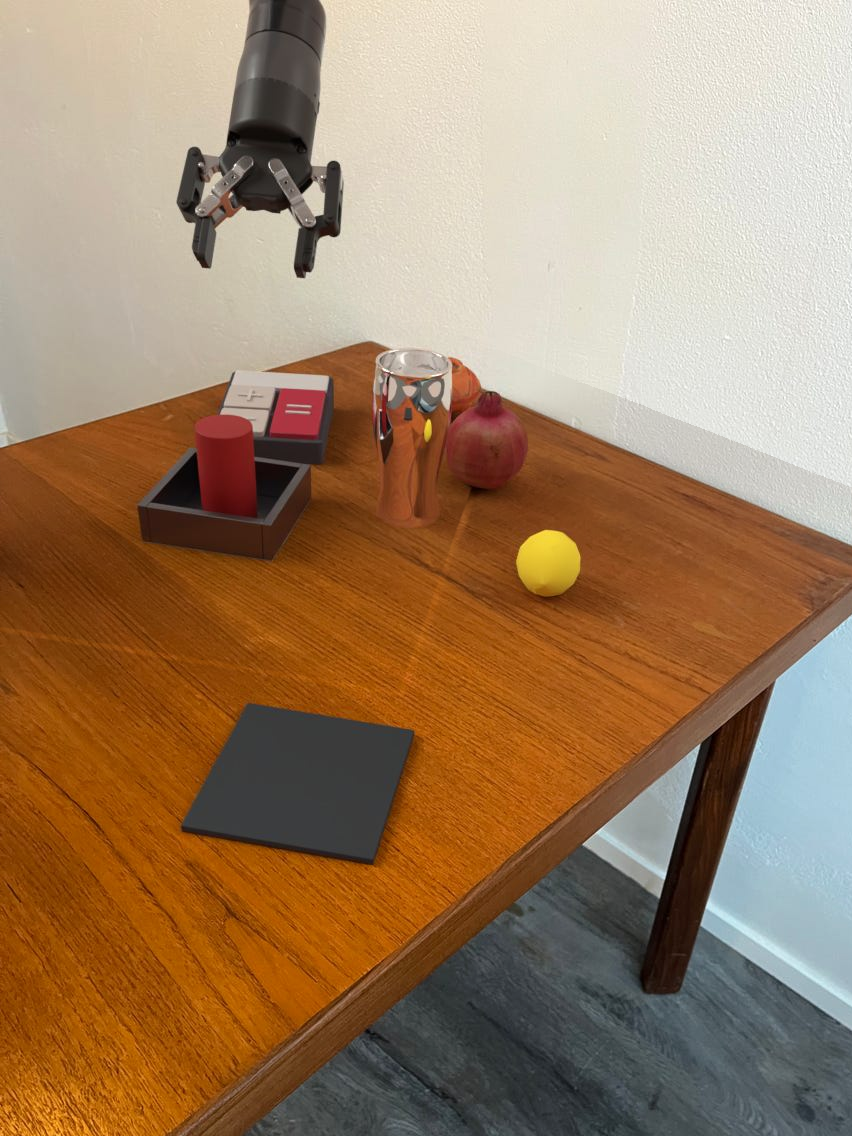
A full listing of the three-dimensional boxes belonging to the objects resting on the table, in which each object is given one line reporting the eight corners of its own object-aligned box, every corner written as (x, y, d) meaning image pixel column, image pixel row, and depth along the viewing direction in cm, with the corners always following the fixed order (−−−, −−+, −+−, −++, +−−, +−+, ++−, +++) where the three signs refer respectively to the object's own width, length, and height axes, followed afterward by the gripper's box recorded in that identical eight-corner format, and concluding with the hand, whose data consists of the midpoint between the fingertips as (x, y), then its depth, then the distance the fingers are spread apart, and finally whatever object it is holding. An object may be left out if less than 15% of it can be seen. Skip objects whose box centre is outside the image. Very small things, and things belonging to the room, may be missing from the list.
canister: (194, 527, 89) (185, 433, 84) (214, 502, 93) (206, 411, 88) (247, 535, 89) (241, 441, 83) (265, 509, 93) (260, 418, 87)
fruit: (496, 514, 96) (506, 416, 90) (427, 488, 99) (432, 392, 94) (537, 484, 102) (549, 390, 96) (470, 460, 105) (477, 368, 99)
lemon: (572, 616, 83) (581, 561, 80) (508, 606, 84) (514, 551, 81) (579, 572, 89) (587, 519, 86) (518, 563, 90) (525, 510, 86)
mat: (181, 831, 61) (180, 825, 61) (247, 707, 71) (247, 702, 71) (373, 865, 61) (373, 859, 60) (414, 735, 70) (414, 729, 70)
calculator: (208, 429, 98) (232, 364, 109) (212, 468, 101) (234, 400, 112) (322, 435, 99) (333, 370, 110) (323, 474, 101) (334, 406, 113)
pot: (494, 407, 116) (494, 356, 111) (458, 444, 112) (456, 393, 106) (436, 386, 119) (433, 336, 114) (398, 422, 114) (393, 371, 109)
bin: (142, 545, 87) (137, 505, 85) (193, 485, 96) (190, 447, 94) (272, 565, 86) (270, 525, 84) (311, 502, 95) (311, 464, 93)
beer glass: (406, 542, 91) (413, 384, 82) (354, 513, 94) (356, 358, 86) (459, 518, 95) (471, 365, 86) (408, 490, 99) (414, 341, 90)
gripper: (186, 66, 88) (158, 238, 85) (348, 82, 88) (325, 254, 85) (209, 123, 95) (183, 282, 93) (358, 138, 95) (337, 297, 93)
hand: (251, 269), depth 89 cm, fingers open, 8 cm apart
